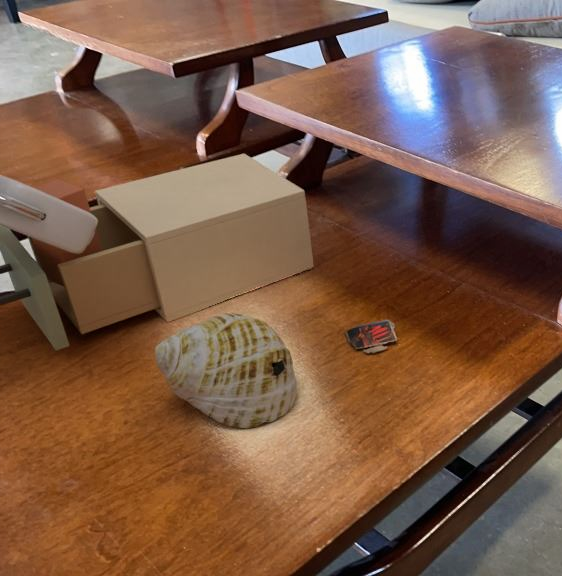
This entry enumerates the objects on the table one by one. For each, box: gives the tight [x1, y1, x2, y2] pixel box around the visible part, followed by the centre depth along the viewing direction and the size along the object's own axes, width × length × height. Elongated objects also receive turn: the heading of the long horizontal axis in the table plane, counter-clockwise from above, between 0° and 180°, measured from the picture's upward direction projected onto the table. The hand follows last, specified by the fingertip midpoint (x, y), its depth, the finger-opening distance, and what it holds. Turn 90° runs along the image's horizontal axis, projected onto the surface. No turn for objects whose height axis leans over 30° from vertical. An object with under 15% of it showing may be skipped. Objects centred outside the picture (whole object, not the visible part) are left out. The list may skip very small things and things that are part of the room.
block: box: [31, 179, 102, 287], centre depth 72 cm, size 4×4×9 cm
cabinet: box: [94, 153, 315, 323], centre depth 82 cm, size 17×14×10 cm
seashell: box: [154, 312, 298, 429], centre depth 64 cm, size 10×10×10 cm
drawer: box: [0, 204, 161, 351], centre depth 74 cm, size 20×12×8 cm, turn 133°
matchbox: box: [345, 318, 398, 355], centre depth 74 cm, size 5×5×1 cm
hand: (69, 229), depth 72 cm, fingers closed on block, 4 cm apart
